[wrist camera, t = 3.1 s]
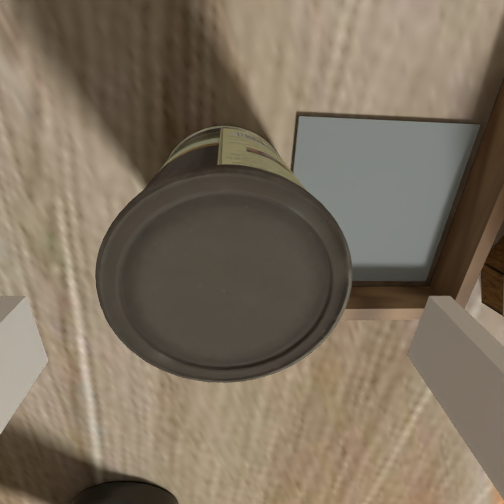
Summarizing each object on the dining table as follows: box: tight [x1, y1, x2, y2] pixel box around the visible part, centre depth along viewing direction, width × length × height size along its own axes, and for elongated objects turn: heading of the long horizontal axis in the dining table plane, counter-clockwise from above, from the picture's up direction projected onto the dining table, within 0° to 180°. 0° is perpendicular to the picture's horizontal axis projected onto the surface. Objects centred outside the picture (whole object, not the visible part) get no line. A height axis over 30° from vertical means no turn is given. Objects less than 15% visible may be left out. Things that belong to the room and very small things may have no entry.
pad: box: [292, 116, 480, 281], centre depth 27 cm, size 14×14×1 cm
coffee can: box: [95, 125, 352, 383], centre depth 19 cm, size 10×10×14 cm
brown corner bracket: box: [340, 80, 504, 320], centre depth 25 cm, size 18×20×4 cm
